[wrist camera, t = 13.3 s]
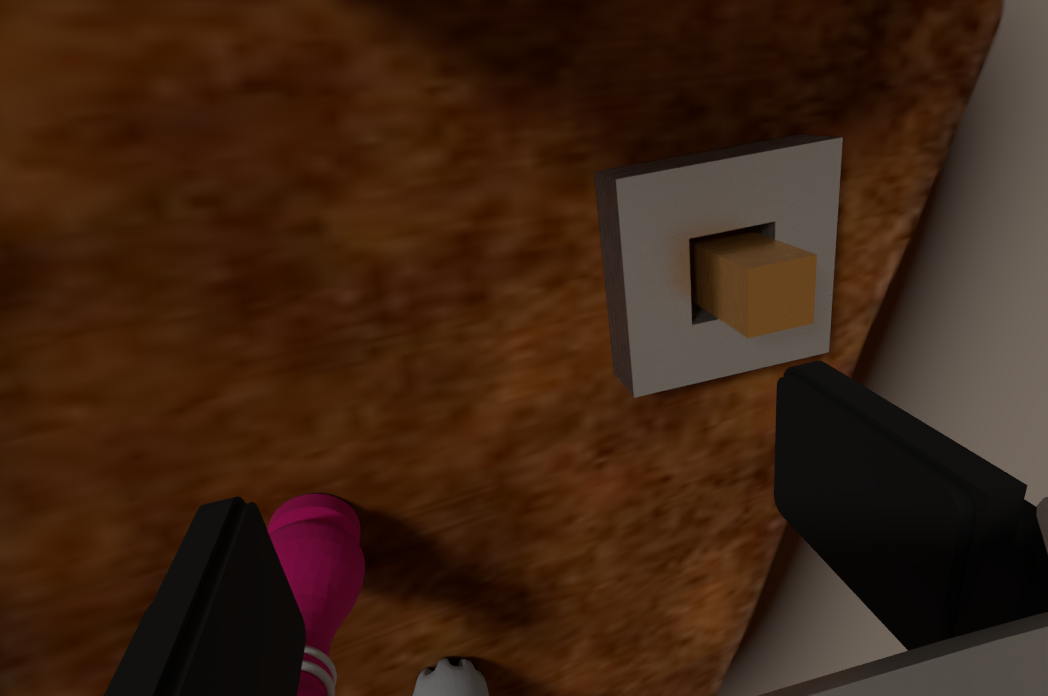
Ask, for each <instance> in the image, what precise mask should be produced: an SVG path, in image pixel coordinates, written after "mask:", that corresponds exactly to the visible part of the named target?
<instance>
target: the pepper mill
mask: <svg viewBox="0 0 1048 696" xmlns="http://www.w3.org/2000/svg"><path fill="white" fill-rule="evenodd" d="M267 531H268V533H269V536H270V538H271V540H272V543H273V545H274V548H275V550H276V553H277V555H278V558H279V560H280V562H281V565H282V567H283V570H284V572H285V575H286V577H287V580H288V582H289V585H290V587H291V589H292V592H293V594H294V597H295V599H296V602H297V604H298V607H299V609H300V611H301V614H302V616H303V619H304V623H305V628H306V644H305V650H304V656H303V662H302V668H301V674H300V680H299V686H298V692H297V696H335V684H336V679H337V675H336V669H335V666H334V664H333V663H332V661H331V660H330V659H329V651H330V645H331V642H332V639H333V637H334V634H335V633H336V631H337V629H338V628H339V627H340V625H341V624H342V622H343V621H344V620H345V618H346V617H347V615H348V614H349V613H350V611H351V610H352V608H353V606H354V604H355V602H356V600H357V598H358V596H359V593H360V591H361V588H362V583H363V578H364V573H365V560H364V555H363V552H362V550H361V548H360V546H359V544H360V532H361V527H360V521H359V518H358V516H357V514H356V512H355V511H354V510H353V508H352V507H351V506H349V505H348V504H347V503H346V502H344V501H343V500H341V499H339V498H337V497H334V496H330V495H326V494H316V493H314V494H306V495H300V496H298V497H295V498H293V499H290V500H289V501H287V502H285V503H284V504H283V505H281V506H280V507H279V508H278V509H277V510H276V511H275V513H274V514H273V516H272V518H271V520H270V523H269V526H268V529H267Z"/></svg>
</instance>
